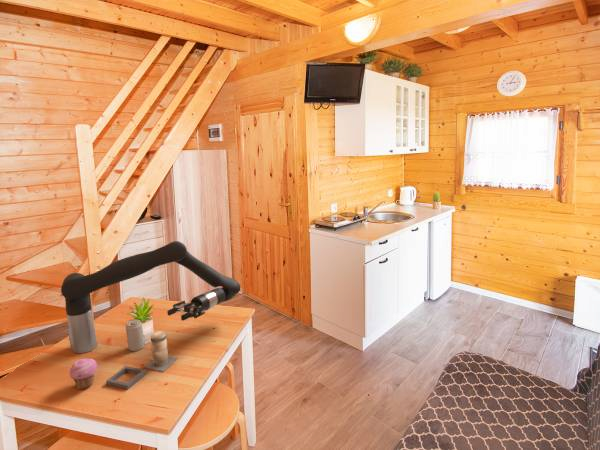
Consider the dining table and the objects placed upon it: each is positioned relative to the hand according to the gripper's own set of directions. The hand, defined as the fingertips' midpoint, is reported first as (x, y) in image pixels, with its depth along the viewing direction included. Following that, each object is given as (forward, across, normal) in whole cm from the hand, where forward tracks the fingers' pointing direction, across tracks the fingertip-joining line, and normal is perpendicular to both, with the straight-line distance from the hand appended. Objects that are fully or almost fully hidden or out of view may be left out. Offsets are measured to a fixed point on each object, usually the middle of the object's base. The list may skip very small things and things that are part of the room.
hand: (174, 315), depth 150 cm
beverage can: (+6, -19, +17) cm, 27 cm away
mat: (+8, 0, +17) cm, 19 cm away
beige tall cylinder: (+8, 0, +17) cm, 19 cm away
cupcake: (+31, -12, +18) cm, 38 cm away
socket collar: (+22, -2, +17) cm, 28 cm away
